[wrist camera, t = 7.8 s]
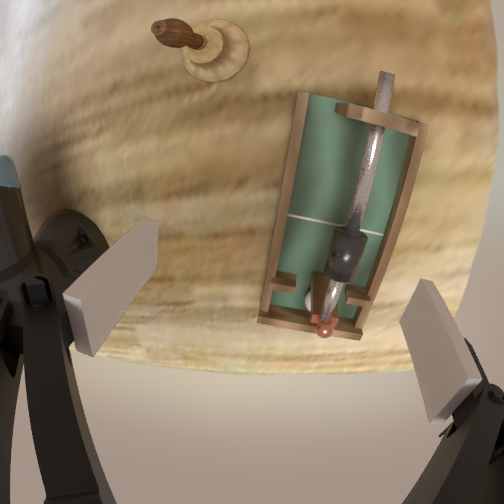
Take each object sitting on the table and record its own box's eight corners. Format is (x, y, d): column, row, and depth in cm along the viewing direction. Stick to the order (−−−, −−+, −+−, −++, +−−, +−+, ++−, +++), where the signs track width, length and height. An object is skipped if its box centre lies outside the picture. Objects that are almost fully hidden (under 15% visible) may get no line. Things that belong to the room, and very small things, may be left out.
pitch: (261, 303, 47) (247, 361, 37) (298, 91, 33) (295, 87, 22) (356, 321, 46) (365, 380, 35) (419, 122, 32) (463, 135, 21)
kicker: (308, 282, 42) (307, 339, 32) (354, 75, 29) (375, 64, 20) (332, 287, 42) (337, 344, 32) (383, 83, 29) (415, 77, 19)
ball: (309, 282, 41) (304, 290, 44) (305, 307, 40) (301, 314, 43) (334, 287, 41) (328, 294, 44) (331, 312, 39) (325, 318, 43)
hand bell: (263, 55, 31) (234, 25, 17) (208, 95, 35) (147, 96, 21) (222, 8, 29) (171, -39, 15) (170, 48, 32) (95, 30, 18)
